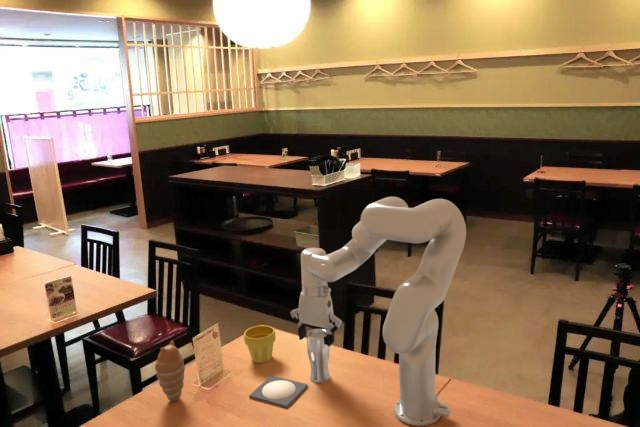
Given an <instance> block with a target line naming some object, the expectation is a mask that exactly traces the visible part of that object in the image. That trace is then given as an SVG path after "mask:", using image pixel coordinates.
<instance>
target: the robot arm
mask: <svg viewBox="0 0 640 427" xmlns="http://www.w3.org/2000/svg"><path fill="white" fill-rule="evenodd" d="M466 227H467V226H466V221H465V218H464V216H463V214H462V212H461V211H460V209H459V208H458V206H457V205H456V204H455V203H453V202H452V201H450V200H448V199H444V198H435V199H431V200H428V201H425V202H424V203H420V204H418V205H417V206H415V207H409V205H408V203H406V202H405V200H404V199H402V198H400V197H397V196H386V197H384V198H381V199H379V200H376V201H374V202H372V203H369V204H368V205H366V207H365V208H364V209H363V211H362V212H361V214H360V220H359V222H357V223H356V224H355V225H354V226H353V228H352V231H351V237H352V238H351V239H350V240H349V241H348V242H347V243H346V244H345V245H343V247H341V248H339V249H338V250H335V251H332V252H331V253H328V254H327V253H326V251H325V250H324V249H323V248H320V247H307V248H304V249H303V250H302V251H301V253H300V267H301V269H300V270H301V271H300V272H301V292H300V294H299V301H298V308H295V309H292V310H291V311H290V312H289V314H290V316H291V318H292V321H293V322H294V323H295V327H296V328H297V330H298V331H297V332H298V333H297V334H298V340H300V341H302V340H303V339H304V338H305V337H307V330H306V329H307V326H306V325H310V326H312V327H313V326H314V327H318V328H321V329H324V330H326V331H327V332H328V334H327V346H330V347H331V346H332V345H333V344H334V343H335V332H337V331H338V329H340V327H341V325H342V323H343V320H341V319H340V318H339V317H337V316H336V315H335V314H334V309H333V308H334V306H333V301H332V300H333V299H332V297H331V291H332V289H331V288H330V287H329V284H328V283H334V282H336V281H338V280H339V279H341V278H343V277H345V276H346V275H348V274H351V273H352V272H354V271H355V270H357V269H358V268H359V267H360V266H362V265H363V264H364V263H365V262H366V261H367V260H369V259H370V258H371V256H372V255H373V254H374V253H375V252H376V250H377V249H378V248H380V246H381V245H383V244H384V243H385V242H386V241H387V240H388V241H396V242H400V243H401V242H402V243H410V244H422V243H426V242H428V244H427V246H426V248H425V250H424V252H423V255H422V258H421V261H420V263H419V265H418V268H417V269H416V272H414V274H413V275H412V276H411V277H409V278H408V279H406V280H404V281H403V282H402V283H400V285H398V287H397V288H396V290H395V292H394V294H393V297H392V299H391V303H390V305H389V309H388V311H387V314H386V317H385V320H384V323H383V326H382V337H383V341H384V343H385V345H386V346H387V348H388V350H390V351H391V352H393V353H395V354H398V362H399V363H398V371H399V374H398V375H399V376H398V377H399V399H398V400H397V401H396V402H395V403H394V406H393V410H394V411H393V412H394V415H395V416H396V418H397V419H398V420H400V421H401V422H403V423H405V424H406V425H407V424H408V425H411V426H417V427H424V425H425V426H429V424H430V425H432V424H434V423H436V422H438V421H439V420H440V418H441V416H443V417H446V418H450V417H451V414H452V410H451V409H449V407H450V406H449V404H446V403H441V402H440V401H439V396H438V395H436V350H437V348H436V345H437V339H438V338H437V337H438V333H439V332H438V330H439V317H438V314H437V312H436V310H435V309H436V308H438V307H439V305H441V304H442V303H443V302H444V300H445V298H446V296H447V293H448V290H449V287H450V285H451V282H452V280H453V278H454V276H455V275H454V274H455V273H456V268H457V266H458V264H459V260H460V258H461V255H462V253H463V251H464V248H465V243H466V240H467V238H466V237H467V228H466ZM333 323H334V324H333Z"/></svg>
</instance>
